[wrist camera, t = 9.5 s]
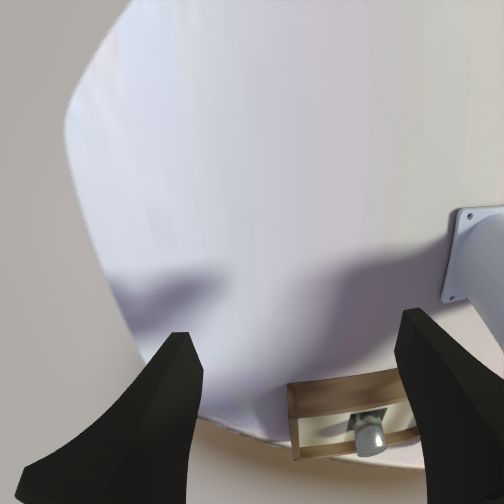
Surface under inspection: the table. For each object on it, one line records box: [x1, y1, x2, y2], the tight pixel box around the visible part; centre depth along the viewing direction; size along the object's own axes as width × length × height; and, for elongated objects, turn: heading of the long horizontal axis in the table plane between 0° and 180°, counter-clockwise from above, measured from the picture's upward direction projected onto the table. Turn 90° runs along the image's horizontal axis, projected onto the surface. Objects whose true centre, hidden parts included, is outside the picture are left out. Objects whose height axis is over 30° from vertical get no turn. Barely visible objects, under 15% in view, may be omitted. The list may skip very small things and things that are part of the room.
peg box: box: [287, 368, 420, 461], centre depth 27 cm, size 16×12×4 cm
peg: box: [351, 409, 387, 457], centre depth 26 cm, size 3×3×6 cm
